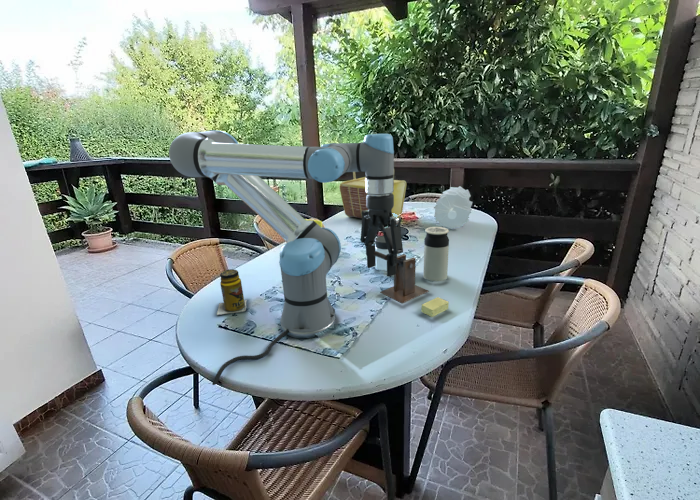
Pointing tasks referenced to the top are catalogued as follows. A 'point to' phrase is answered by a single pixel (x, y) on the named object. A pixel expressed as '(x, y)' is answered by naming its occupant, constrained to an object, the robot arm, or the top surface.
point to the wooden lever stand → (404, 282)
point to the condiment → (231, 293)
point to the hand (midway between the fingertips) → (381, 270)
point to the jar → (382, 248)
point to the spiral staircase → (453, 208)
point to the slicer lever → (386, 258)
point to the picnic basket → (356, 195)
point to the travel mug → (436, 254)
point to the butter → (434, 306)
